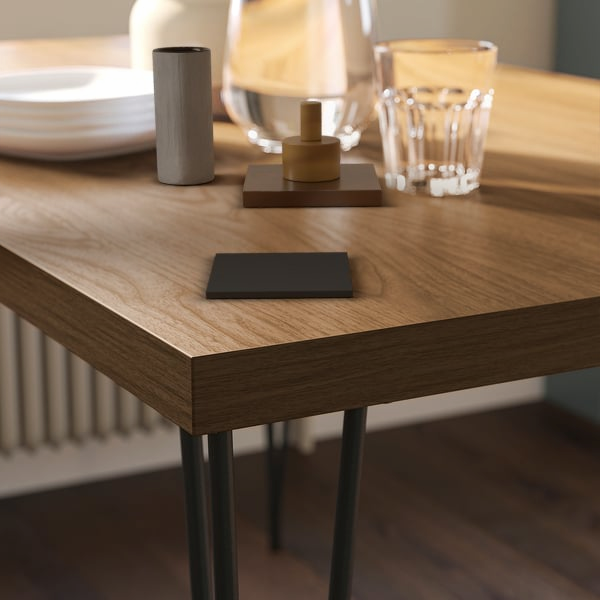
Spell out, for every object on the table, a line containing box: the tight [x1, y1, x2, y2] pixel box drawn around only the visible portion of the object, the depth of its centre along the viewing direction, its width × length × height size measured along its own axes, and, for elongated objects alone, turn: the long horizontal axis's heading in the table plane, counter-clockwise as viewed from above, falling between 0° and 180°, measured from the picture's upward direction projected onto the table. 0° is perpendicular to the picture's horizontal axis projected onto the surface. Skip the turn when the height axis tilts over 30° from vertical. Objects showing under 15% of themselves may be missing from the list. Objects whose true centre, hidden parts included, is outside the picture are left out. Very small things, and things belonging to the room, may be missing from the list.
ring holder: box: [242, 100, 383, 208], centre depth 89 cm, size 10×10×7 cm
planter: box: [151, 46, 215, 186], centre depth 93 cm, size 4×4×10 cm
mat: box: [205, 251, 354, 299], centre depth 68 cm, size 8×8×1 cm
